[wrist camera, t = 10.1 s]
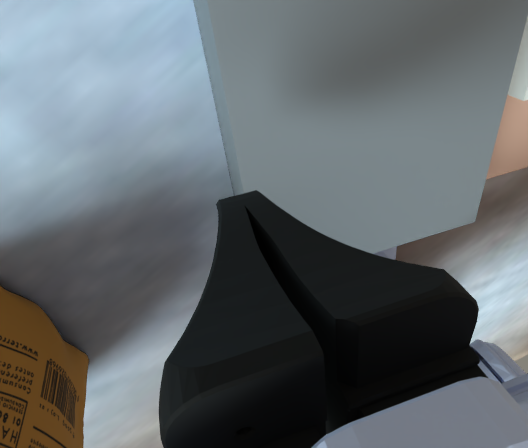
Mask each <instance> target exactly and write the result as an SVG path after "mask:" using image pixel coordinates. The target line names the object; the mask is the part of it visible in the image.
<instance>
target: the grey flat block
mask: <svg viewBox="0 0 528 448" xmlns="http://www.w3.org/2000/svg"><path fill="white" fill-rule="evenodd" d="M194 5H195V10H196V15H197V20H198V24H199V29H200V34H201V39H202V44H203V48H204V53H205V58H206V63H207V68H208V72H209V77H210V82H211V87H212V92H213V96H214V101H215V106H216V111H217V116H218V120H219V125H220V130H221V135H222V140H223V144H224V149H225V154H226V159H227V164H228V168H229V173H230V178H231V183H232V188H233V192H234V196H236V195H240V194H243V193H247V192H251V191H255V190H257V191H259V192H260V193H262V194H263V195H264V196H266V197H267V198H268V199H269V200H271V201H272V202H273V203H275V204H276V205H277V206H279V207H280V208H281V209H283V210H284V211H286V212H287V213H289V214H290V215H292V216H293V217H295V218H296V219H298V220H299V221H301V222H302V223H304V224H306V225H307V226H309V227H311V228H313V229H314V230H316V231H318V232H320V233H322V234H324V235H326V236H328V237H330V238H332V239H335V240H337V241H339V242H341V243H344V244H346V245H349V246H351V247H354V248H357V249H360V250H363V251H366V252H369V253H372V254H373V253H377V252H380V251H383V250H386V249H389V248H393V247H396V246H399V245H402V244H406V243H409V242H412V241H415V240H418V239H422V238H425V237H428V236H431V235H434V234H438V233H441V232H444V231H447V230H451V229H454V228H457V227H460V226H463V225H467V224H470V223H473V222H475V220H476V216H477V212H478V208H479V204H480V200H481V196H482V193H483V189H484V185H485V181H486V177H487V173H488V169H489V165H490V161H491V157H492V153H493V149H494V146H495V142H496V138H497V134H498V130H499V126H500V122H501V118H502V114H503V110H504V106H505V103H506V99H507V95H508V91H509V87H510V83H511V79H512V75H513V71H514V67H515V63H516V59H517V56H518V52H519V48H520V44H521V40H522V36H523V32H524V28H525V24H526V20H527V16H528V0H194Z"/></svg>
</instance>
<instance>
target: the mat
mask: <svg viewBox="0 0 528 448" xmlns="http://www.w3.org/2000/svg"><path fill="white" fill-rule="evenodd" d="M526 167H528V100H526V101H522V100H520V99H517V98H514V97H512V96H509V95H507V99H506V103H505V106H504V110H503V114H502V118H501V122H500V126H499V130H498V134H497V138H496V142H495V146H494V149H493V153H492V157H491V161H490V165H489V169H488V173H487V177H486V179H489V178H492V177H496V176H499V175H503V174H506V173H509V172H513V171H516V170H520V169H523V168H526Z"/></svg>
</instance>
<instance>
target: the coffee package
mask: <svg viewBox="0 0 528 448" xmlns="http://www.w3.org/2000/svg"><path fill="white" fill-rule="evenodd" d="M88 363H89V359H88V356H87V355H86V354H85V353H84V352H82V351H80V350H78V349H77V348H76V347H74V346H72V345H70V344H68V343H67V342H65V341H64V340H63V339H62V338H61V335H60V334H59V332H58V331H57V329H56V327H55V326H54V324H53V323H52V322H51V320H50V319H49V317H48V316H47V315H46V313H45V312H44V311H43V310H42V309H41V308H40V307H39V306H38V305H37V304H35V303H34V302H32V301H30V300H28V299H26V298H23V297H21V296H19V295H16V294H14V293H12V292H9V291H7V290H5V289H4V288H2V287H1V286H0V448H83V439H84V435H83V425H84V423H83V418H84V408H85V399H86V382H87V370H88Z"/></svg>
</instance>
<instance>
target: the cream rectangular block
mask: <svg viewBox="0 0 528 448" xmlns="http://www.w3.org/2000/svg"><path fill="white" fill-rule="evenodd" d="M508 95H509V96H512V97H514V98H517V99H520V100H522V101H526V100H528V16H527V20H526V24H525V28H524V32H523V36H522V40H521V44H520V48H519V52H518V56H517V59H516V63H515V67H514V71H513V75H512V79H511V83H510V87H509V91H508Z"/></svg>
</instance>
